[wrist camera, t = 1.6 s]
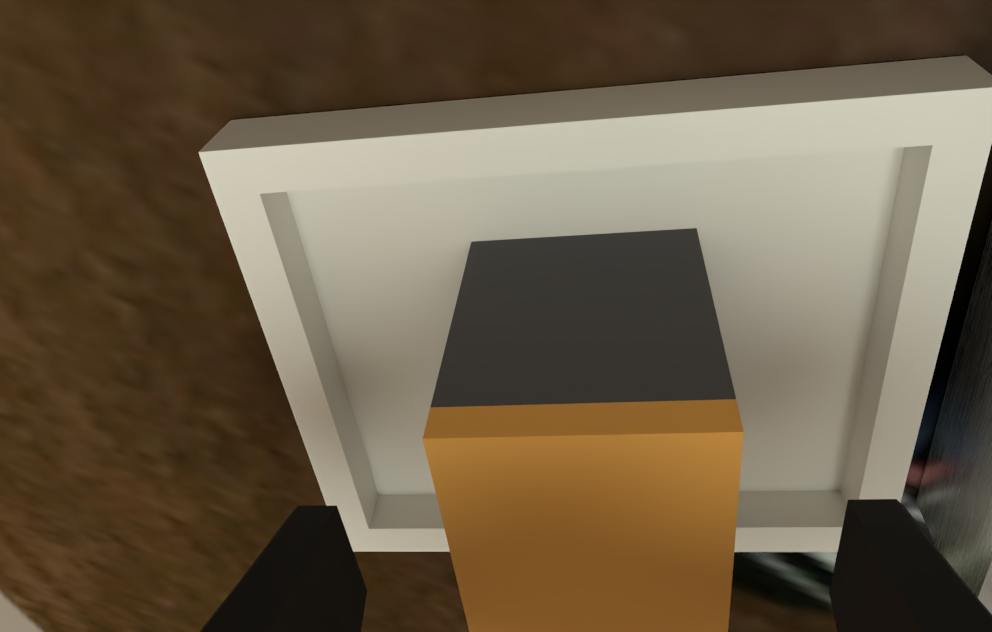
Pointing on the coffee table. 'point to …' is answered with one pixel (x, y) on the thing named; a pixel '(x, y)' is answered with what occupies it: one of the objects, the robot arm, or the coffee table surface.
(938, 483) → the block
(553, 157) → the tray
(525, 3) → the coffee table surface
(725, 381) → the plug
